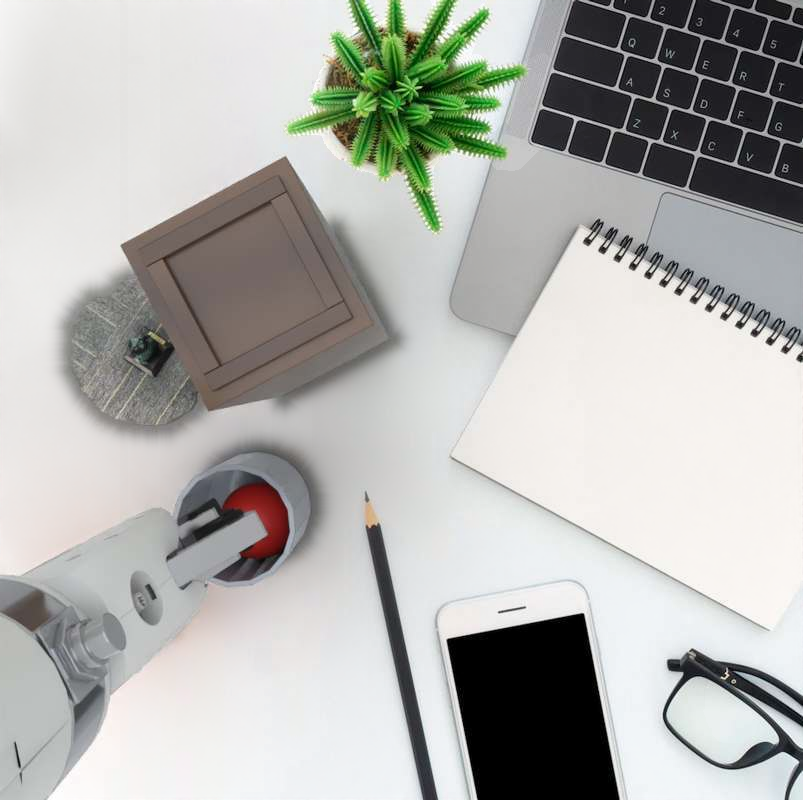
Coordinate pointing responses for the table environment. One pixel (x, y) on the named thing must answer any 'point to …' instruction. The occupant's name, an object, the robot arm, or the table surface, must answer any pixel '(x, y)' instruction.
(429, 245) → the table surface
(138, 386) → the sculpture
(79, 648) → the robot arm
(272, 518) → the apple
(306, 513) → the steel cup
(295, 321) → the crate
